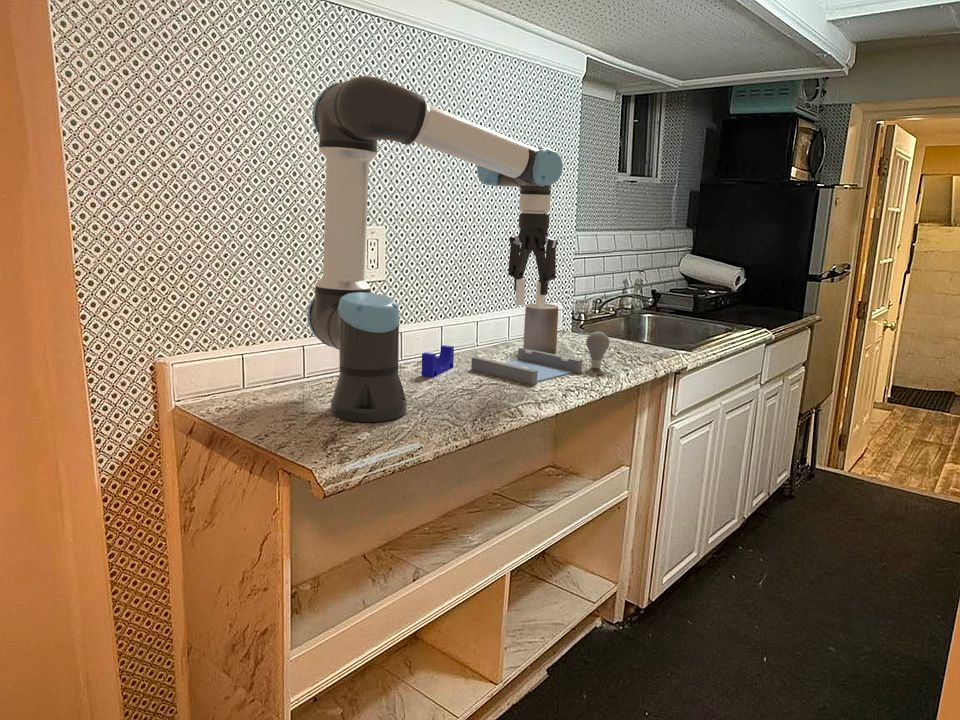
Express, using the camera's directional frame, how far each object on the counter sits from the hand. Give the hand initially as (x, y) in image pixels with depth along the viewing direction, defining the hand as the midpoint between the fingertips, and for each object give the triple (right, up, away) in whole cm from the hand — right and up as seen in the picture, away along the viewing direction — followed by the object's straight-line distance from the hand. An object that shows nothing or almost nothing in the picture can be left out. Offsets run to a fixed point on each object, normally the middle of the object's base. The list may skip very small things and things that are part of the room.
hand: (529, 306), depth 173 cm
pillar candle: (+5, -11, +28) cm, 31 cm away
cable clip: (-24, -17, -1) cm, 29 cm away
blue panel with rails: (-1, -16, +4) cm, 17 cm away
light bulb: (+18, -16, +9) cm, 26 cm away
